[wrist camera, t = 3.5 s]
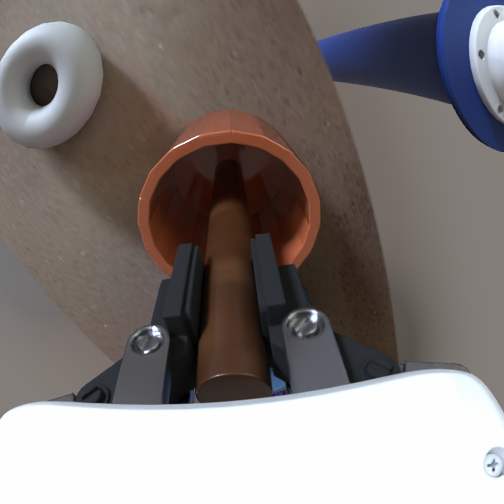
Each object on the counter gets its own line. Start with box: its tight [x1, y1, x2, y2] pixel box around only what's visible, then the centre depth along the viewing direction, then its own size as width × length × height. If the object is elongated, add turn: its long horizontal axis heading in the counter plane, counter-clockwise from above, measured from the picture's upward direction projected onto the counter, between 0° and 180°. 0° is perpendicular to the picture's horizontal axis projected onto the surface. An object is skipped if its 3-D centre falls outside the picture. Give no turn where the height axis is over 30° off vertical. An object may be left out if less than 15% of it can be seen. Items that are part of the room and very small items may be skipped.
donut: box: [0, 22, 103, 149], centre depth 16 cm, size 10×3×10 cm
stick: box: [195, 159, 273, 403], centre depth 15 cm, size 2×2×18 cm
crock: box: [138, 110, 321, 277], centre depth 19 cm, size 9×9×9 cm
